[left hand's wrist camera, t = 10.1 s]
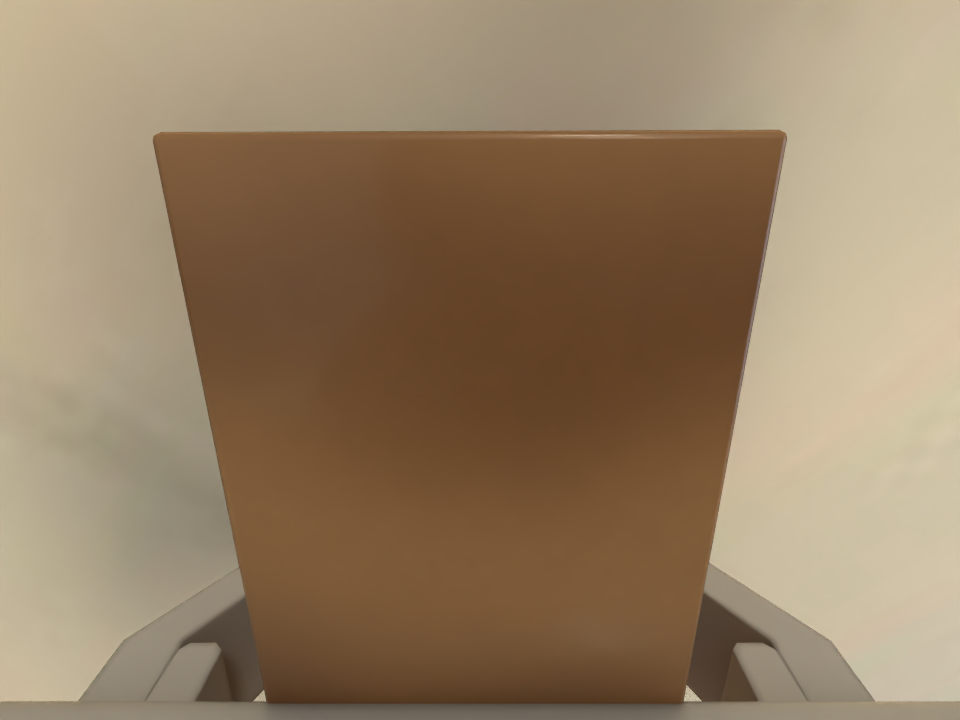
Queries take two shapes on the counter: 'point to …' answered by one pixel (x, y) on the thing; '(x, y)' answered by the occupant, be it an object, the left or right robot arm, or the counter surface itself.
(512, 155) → the post
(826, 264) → the counter surface
